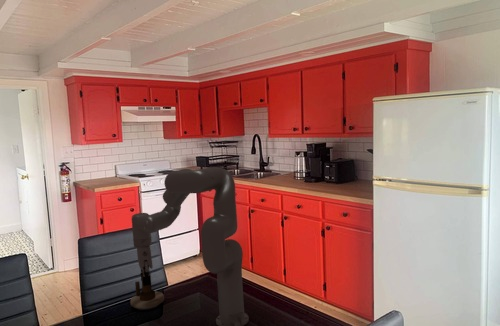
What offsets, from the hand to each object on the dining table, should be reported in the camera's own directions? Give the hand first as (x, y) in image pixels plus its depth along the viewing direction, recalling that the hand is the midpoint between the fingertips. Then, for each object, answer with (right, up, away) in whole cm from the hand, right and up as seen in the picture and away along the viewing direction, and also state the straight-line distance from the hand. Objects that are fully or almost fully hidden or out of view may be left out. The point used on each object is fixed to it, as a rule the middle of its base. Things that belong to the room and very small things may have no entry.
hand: (146, 282), depth 167 cm
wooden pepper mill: (+1, -7, 0) cm, 7 cm away
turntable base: (+1, -10, +1) cm, 10 cm away
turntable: (0, -8, +1) cm, 8 cm away
